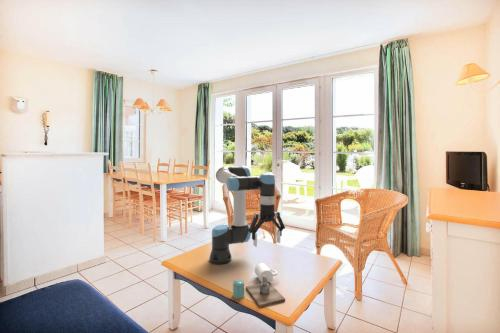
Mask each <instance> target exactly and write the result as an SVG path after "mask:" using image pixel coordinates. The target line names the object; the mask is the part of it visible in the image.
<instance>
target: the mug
mask: <svg viewBox="0 0 500 333" xmlns="http://www.w3.org/2000/svg"><path fill="white" fill-rule="evenodd" d="M254 273H255V276H257V278H258V280H259V282H260V283H262V281H263V276H267V282H270V283H271V282H272V281H273V278H274V277H276V276H277V275H278V270H276V269H273V268H269V267H268V265H266V264H265V263H264V262H260V263H258V264H256V265H255V268H254Z"/></svg>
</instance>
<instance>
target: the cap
mask: <svg viewBox="0 0 500 333" xmlns="http://www.w3.org/2000/svg"><path fill="white" fill-rule="evenodd" d="M232 296H233V298H234V299H237V300H238V299H243V298H244V297H245V281H244V280H241V279H236V280H233V283H232Z"/></svg>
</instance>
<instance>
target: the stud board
mask: <svg viewBox="0 0 500 333" xmlns="http://www.w3.org/2000/svg"><path fill="white" fill-rule="evenodd" d="M245 289H246V291H247V292H248V294H249V295H250V297H252V299H253V301H254V302H255V303H256V305H257V306H258V308H263V307H266V306H271V305H275V304H278V303H283V302H286V297H284V296H283V295H282V293H280V292H279V290H278V289H277V288H275V286H274V285H273V284H272V283H271V282H267V276H263V281H262V283H261V282H260V283H257V284H250V285H247V286H245Z"/></svg>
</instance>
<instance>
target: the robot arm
mask: <svg viewBox="0 0 500 333" xmlns="http://www.w3.org/2000/svg"><path fill="white" fill-rule="evenodd" d="M215 178H216V180H217V181H218V182H219V183H221V184H224V185H226V188H227V190H228V191H229V192H233V221H232V222H231V226H229V224H219V225H216V226H214V227H213V228H212V231H211V250H210V254H209V259H208V260H209V262H210V263H211V264H213V265H226V264H228V263H230V262H231V261H232V253H231V251H230V245H232V244H233V245H234V244H243V243H248V242H249V241H250V239H252V241H253V246H254V247H255V248H257V247H258V234H257V232H258V231H259V229H260V228H261V226H262V225H263V224H264V223H268V222H272V223H273V225H274V226H275V227H276V243H278V244H281V237H282V232H283V231H284V230H285V229H286V227H285V224H284V222H283V219H282V218H281V212H279V211H277V210H276V211H275V201H276V200H275V198H276V197H275V191H276V187H275V186H276V179H275V178H276V176H275V175H274V173H273V174H272V173H261V174H260V175H254V176H253V175H252V174H251V170H250V169H249V167H248V166H246V165H225V166H222V167H220V168H218V170H217V171H216V174H215ZM247 191H259V197H260V198H259V202H260V204H259V212H260V213H256V212H255V213H253V214H254V215H253V219H252V221H251V223H250V225H249V223H248V222H247V221H246V220H247V219H246V218H247V215H246V214H247V213H246V212H247V210H246V209H247V208H246V207H247V203H246V202H247V201H246V200H247V199H246V196H247V195H246V192H247ZM274 217H275V218H276V219H277V221H276V219H275V218H274Z"/></svg>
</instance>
